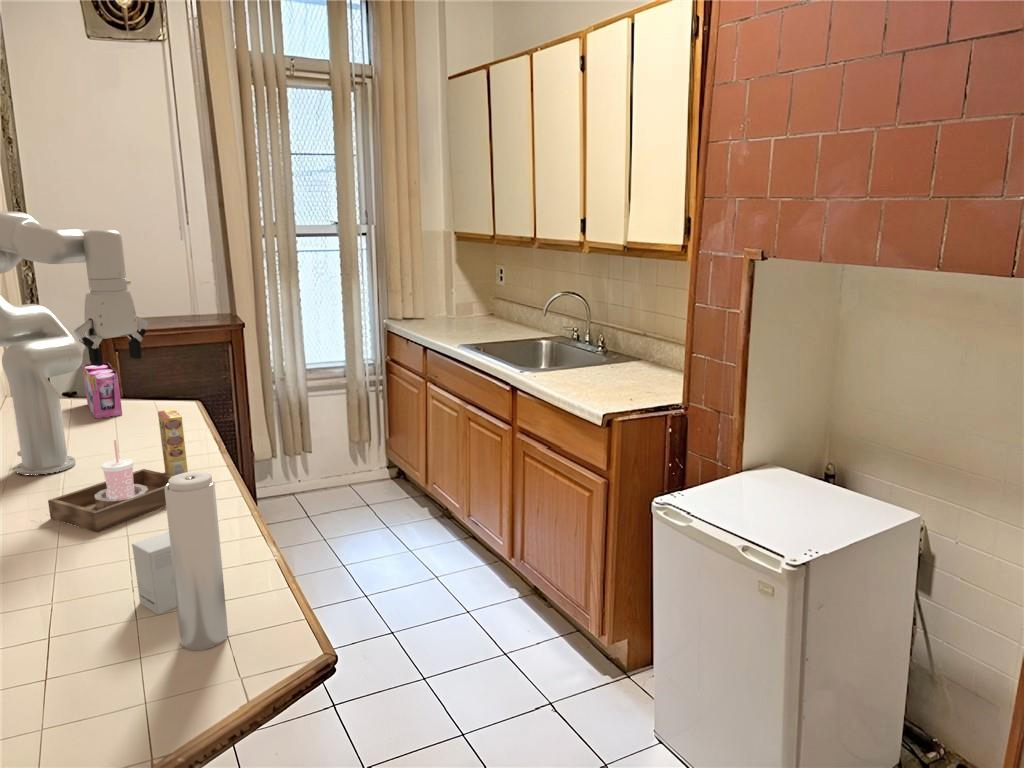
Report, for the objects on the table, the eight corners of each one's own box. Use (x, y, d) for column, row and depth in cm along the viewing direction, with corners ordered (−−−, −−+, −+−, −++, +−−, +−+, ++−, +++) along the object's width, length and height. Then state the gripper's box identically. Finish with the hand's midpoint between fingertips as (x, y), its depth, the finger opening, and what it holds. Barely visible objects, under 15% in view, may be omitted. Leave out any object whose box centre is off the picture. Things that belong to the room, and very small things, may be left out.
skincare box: (199, 578, 128) (193, 521, 126) (219, 590, 124) (213, 531, 122) (137, 602, 120) (130, 541, 118) (156, 615, 116) (149, 553, 114)
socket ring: (85, 507, 157) (84, 496, 157) (128, 492, 166) (127, 481, 166) (116, 515, 153) (115, 504, 152) (159, 499, 162) (157, 488, 161)
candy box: (189, 479, 177) (183, 416, 174) (169, 482, 175) (163, 419, 171) (182, 468, 184) (176, 408, 181) (163, 471, 182) (157, 410, 178)
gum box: (124, 416, 232) (119, 373, 230) (95, 420, 228) (89, 376, 225) (113, 401, 252) (108, 361, 249) (86, 404, 247) (81, 364, 244)
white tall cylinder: (189, 627, 113) (173, 470, 107) (233, 625, 113) (219, 469, 108) (174, 652, 106) (156, 486, 101) (220, 649, 107) (205, 484, 102)
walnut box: (50, 518, 153) (48, 500, 153) (145, 485, 173) (143, 468, 172) (97, 532, 147) (95, 513, 146) (190, 496, 166) (188, 479, 165)
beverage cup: (116, 510, 155) (109, 446, 152) (100, 504, 159) (92, 441, 156) (144, 501, 161) (137, 438, 158) (127, 496, 164) (120, 434, 161)
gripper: (131, 282, 176) (139, 354, 179) (59, 288, 161) (69, 366, 164) (153, 284, 172) (160, 357, 176) (81, 290, 157) (91, 370, 161)
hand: (116, 361), depth 170 cm, fingers open, 9 cm apart
